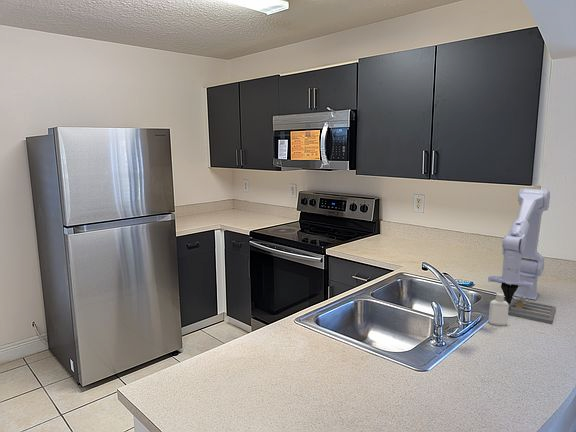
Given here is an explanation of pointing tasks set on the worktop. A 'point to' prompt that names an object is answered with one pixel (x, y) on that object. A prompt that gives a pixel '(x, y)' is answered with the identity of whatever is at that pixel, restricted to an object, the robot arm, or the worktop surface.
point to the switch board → (533, 311)
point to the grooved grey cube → (522, 298)
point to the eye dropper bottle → (498, 310)
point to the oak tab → (519, 304)
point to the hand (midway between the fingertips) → (508, 303)
